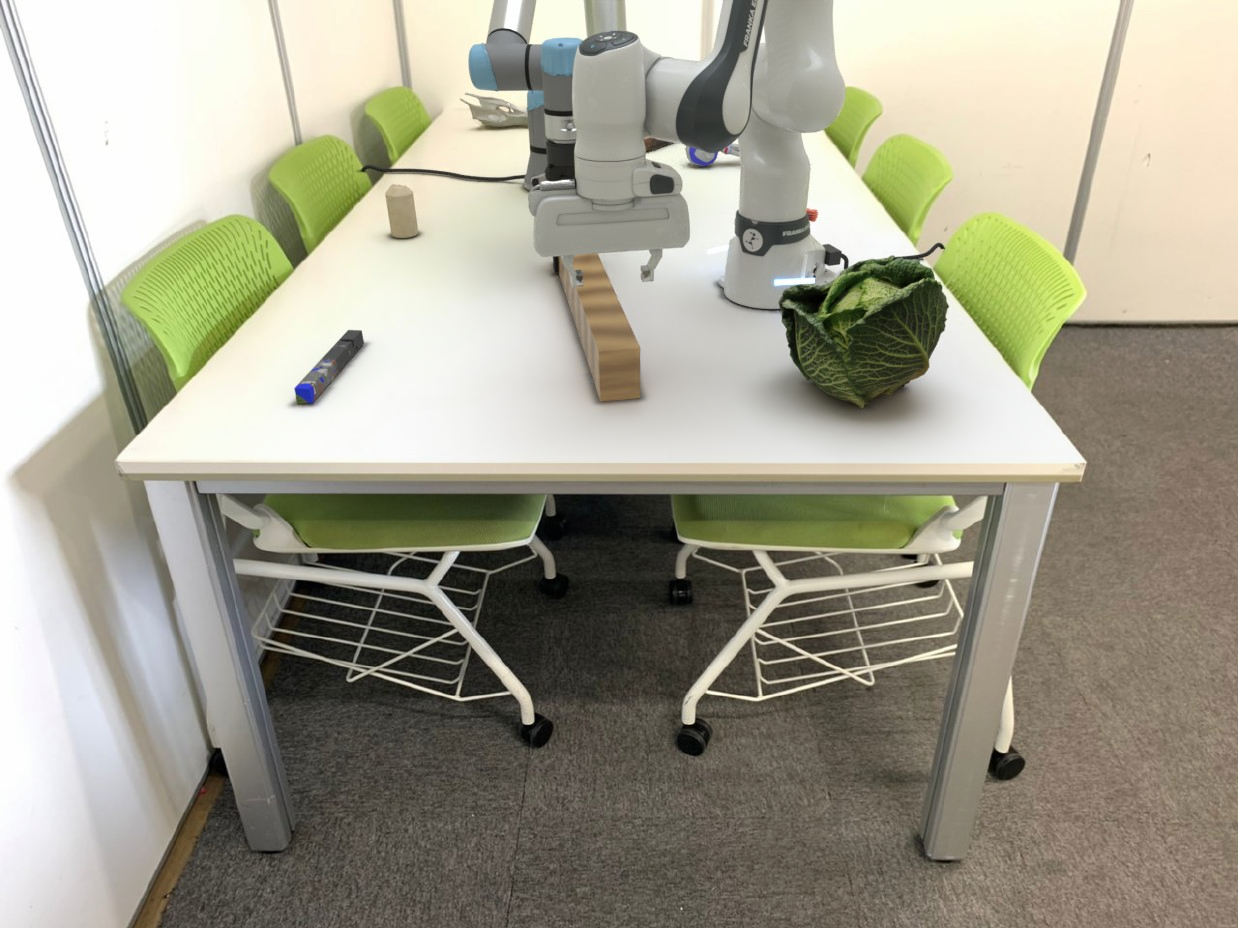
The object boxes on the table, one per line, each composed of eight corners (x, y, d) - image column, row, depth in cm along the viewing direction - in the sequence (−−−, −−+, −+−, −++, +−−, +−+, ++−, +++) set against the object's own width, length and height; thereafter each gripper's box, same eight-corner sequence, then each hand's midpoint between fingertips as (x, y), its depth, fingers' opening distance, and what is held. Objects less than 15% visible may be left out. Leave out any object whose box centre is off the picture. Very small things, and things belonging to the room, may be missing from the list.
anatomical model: (468, 90, 276) (547, 88, 273) (472, 121, 281) (549, 120, 278) (454, 100, 264) (536, 98, 260) (458, 132, 269) (539, 131, 265)
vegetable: (809, 415, 132) (748, 301, 124) (914, 342, 133) (860, 224, 126) (882, 452, 114) (816, 321, 106) (1002, 367, 115) (946, 232, 107)
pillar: (361, 330, 139) (308, 390, 122) (364, 343, 140) (311, 404, 123) (348, 329, 139) (293, 389, 122) (350, 342, 140) (296, 403, 123)
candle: (423, 231, 187) (416, 182, 181) (409, 239, 182) (402, 190, 177) (400, 229, 188) (393, 180, 183) (386, 237, 184) (378, 187, 178)
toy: (809, 146, 225) (693, 132, 220) (801, 180, 229) (687, 167, 224) (798, 137, 233) (686, 124, 229) (791, 170, 238) (681, 158, 233)
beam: (555, 263, 169) (553, 224, 165) (584, 261, 170) (583, 222, 166) (600, 402, 123) (598, 351, 119) (640, 398, 123) (640, 347, 119)
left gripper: (514, 146, 149) (524, 280, 161) (625, 140, 151) (626, 272, 164) (511, 136, 155) (521, 265, 167) (617, 131, 157) (619, 258, 170)
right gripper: (529, 188, 108) (536, 297, 115) (695, 179, 110) (691, 285, 118) (525, 175, 113) (532, 280, 120) (683, 166, 116) (680, 269, 123)
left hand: (573, 268), depth 165 cm, fingers closed on beam, 6 cm apart
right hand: (612, 283), depth 119 cm, fingers open, 8 cm apart
